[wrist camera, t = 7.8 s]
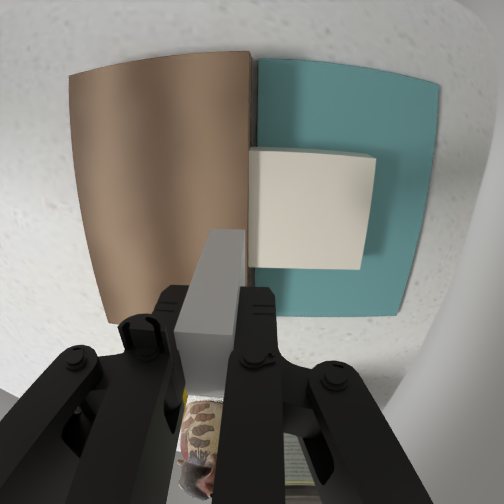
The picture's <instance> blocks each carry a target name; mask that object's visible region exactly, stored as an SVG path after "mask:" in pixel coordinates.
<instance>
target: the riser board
mask: <svg viewBox="0 0 504 504" xmlns="http://www.w3.org/2000/svg"><path fill="white" fill-rule="evenodd" d="M251 80H252V58H251V55H250V52H249V51H229V52H207V53H193V54H182V55H173V56H165V57H157V58H150V59H144V60H137V61H132V62H126V63H121V64H116V65H111V66H106V67H102V68H98V69H93V70H89V71H85V72H81V73H78V74H74V75H70V76H69V109H70V127H71V140H72V151H73V160H74V169H75V177H76V184H77V191H78V197H79V203H80V209H81V215H82V220H83V225H84V230H85V235H86V240H87V245H88V249H89V254H90V258H91V262H92V266H93V270H94V274H95V278H96V282H97V285H98V289H99V293H100V296H101V300H102V303H103V306H104V310H105V313H106V316H107V319H108V322H109V323H112V324H120V323H121V322H122V321H123V320H125V319H126V318H128V317H130V316H133V315H136V314H146V313H148V314H152V312H153V311H154V307H155V305H156V303H157V301H158V299H159V296H160V294H161V292H162V291H164V290H165V289H166V288H167V287H168V286H169V285H190V283H191V280H192V278H193V275H194V272H195V269H196V267H197V264H198V261H199V258H200V256H201V253H202V250H203V248H204V245H205V242H206V240H207V237H208V234H209V232H210V229H241V230H245V286H249V267H248V204H249V149H250V147H251Z"/></svg>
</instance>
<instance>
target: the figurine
mask: <svg viewBox="0 0 504 504" xmlns="http://www.w3.org/2000/svg"><path fill="white" fill-rule="evenodd" d="M222 408H223V404H221V403H216V402H212V401H196V402H191V403H189V404H187V405H186V407H185V411H184V416H183V421H182V425H181V429H182V431H181V444H180V446H181V453H182V455H183V457H184V459H183V460H178V461H177V463H178V464H179V465H180V466H181V467H182V471H181V477H180V480H179V482H178V484H179V486H180V487H181V488H182V489H183V490H184V491H185V492H186V493H187V494H188V495H189V496H190V497H191V498H194V499H197V500H207V499H208V498H212V496H213V486H214V477H215V469H216V460H217V451H218V442H219V434H220V425H221V417H222Z"/></svg>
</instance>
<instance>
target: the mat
mask: <svg viewBox="0 0 504 504" xmlns="http://www.w3.org/2000/svg"><path fill="white" fill-rule="evenodd" d="M438 96H439V85H438V84H435V83H431V82H428V81H424V80H420V79H416V78H412V77H408V76H404V75H399V74H395V73H390V72H385V71H380V70H375V69H369V68H363V67H357V66H350V65H343V64H335V63H327V62H317V61H306V60H291V59H268V58H259V71H258V137H257V147H282V148H304V149H320V150H334V151H346V152H356V153H366V154H369V155H370V156H372V157H374V158H376V166H375V175H374V184H373V192H372V199H371V206H370V213H369V220H368V226H367V233H366V239H365V245H364V250H363V256H362V261H361V266H360V270H345V269H298V268H260V267H255V287H269V288H270V289H271V291H272V292H273V293H274V295H275V303H276V316H293V317H367V316H396V315H397V312H398V309H399V306H400V303H401V300H402V297H403V294H404V290H405V287H406V284H407V280H408V277H409V273H410V270H411V266H412V262H413V258H414V254H415V250H416V246H417V242H418V238H419V234H420V229H421V225H422V220H423V215H424V210H425V205H426V200H427V194H428V188H429V182H430V176H431V169H432V162H433V154H434V146H435V137H436V126H437V114H438Z"/></svg>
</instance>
